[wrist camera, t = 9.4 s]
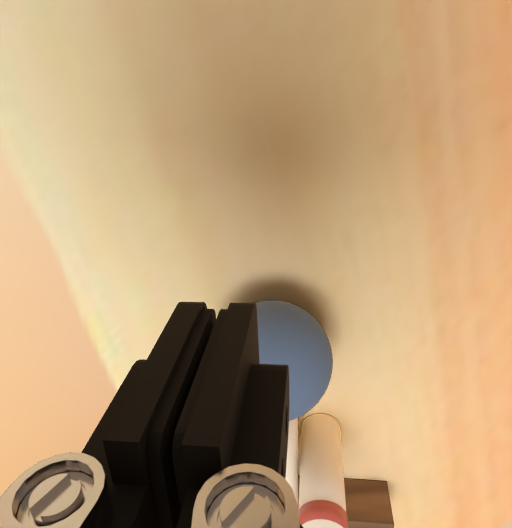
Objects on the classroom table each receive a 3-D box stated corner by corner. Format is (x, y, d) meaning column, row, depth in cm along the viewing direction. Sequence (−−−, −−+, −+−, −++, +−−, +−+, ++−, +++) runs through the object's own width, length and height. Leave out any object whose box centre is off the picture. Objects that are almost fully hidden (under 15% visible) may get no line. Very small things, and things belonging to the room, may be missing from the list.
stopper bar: (240, 471, 30) (233, 512, 28) (386, 481, 29) (394, 524, 27) (241, 488, 31) (234, 529, 28) (384, 498, 30) (391, 542, 27)
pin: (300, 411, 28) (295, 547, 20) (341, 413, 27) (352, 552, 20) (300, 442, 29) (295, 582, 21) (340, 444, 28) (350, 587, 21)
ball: (210, 447, 22) (228, 359, 27) (333, 452, 21) (329, 361, 26) (192, 357, 19) (216, 277, 24) (337, 360, 18) (331, 277, 23)
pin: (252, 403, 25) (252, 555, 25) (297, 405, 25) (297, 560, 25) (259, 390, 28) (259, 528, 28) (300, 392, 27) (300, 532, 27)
